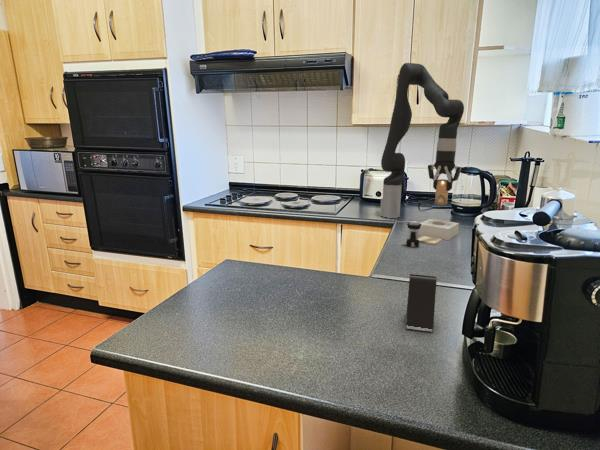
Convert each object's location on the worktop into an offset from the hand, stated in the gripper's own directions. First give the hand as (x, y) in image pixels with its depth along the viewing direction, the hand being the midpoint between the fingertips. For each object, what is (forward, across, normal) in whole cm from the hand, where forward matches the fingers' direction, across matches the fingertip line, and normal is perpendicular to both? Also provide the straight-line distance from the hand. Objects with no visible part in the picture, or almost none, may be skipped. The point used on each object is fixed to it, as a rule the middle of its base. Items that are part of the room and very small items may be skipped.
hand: (442, 189), depth 166 cm
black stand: (+20, +2, +24) cm, 31 cm away
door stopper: (+20, -26, +82) cm, 88 cm away
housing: (+20, 0, 0) cm, 20 cm away
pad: (+20, -1, +13) cm, 24 cm away
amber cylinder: (+6, 0, 0) cm, 6 cm away
